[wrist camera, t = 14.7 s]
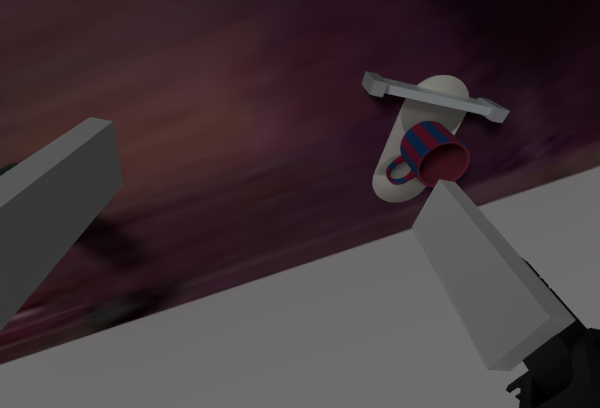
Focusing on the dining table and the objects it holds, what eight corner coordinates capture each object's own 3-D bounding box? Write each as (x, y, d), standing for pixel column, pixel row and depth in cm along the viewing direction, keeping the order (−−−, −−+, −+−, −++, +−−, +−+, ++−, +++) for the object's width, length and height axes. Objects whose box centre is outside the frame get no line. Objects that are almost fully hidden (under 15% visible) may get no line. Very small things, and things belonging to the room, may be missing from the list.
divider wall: (365, 71, 37) (374, 80, 33) (489, 99, 40) (509, 110, 36) (361, 84, 38) (369, 94, 34) (482, 111, 40) (502, 123, 37)
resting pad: (417, 67, 37) (418, 68, 37) (481, 83, 38) (482, 83, 38) (364, 196, 48) (364, 198, 48) (414, 205, 50) (415, 206, 49)
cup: (449, 153, 44) (472, 176, 38) (383, 177, 46) (397, 203, 40) (443, 112, 40) (468, 132, 35) (372, 140, 42) (385, 163, 37)
